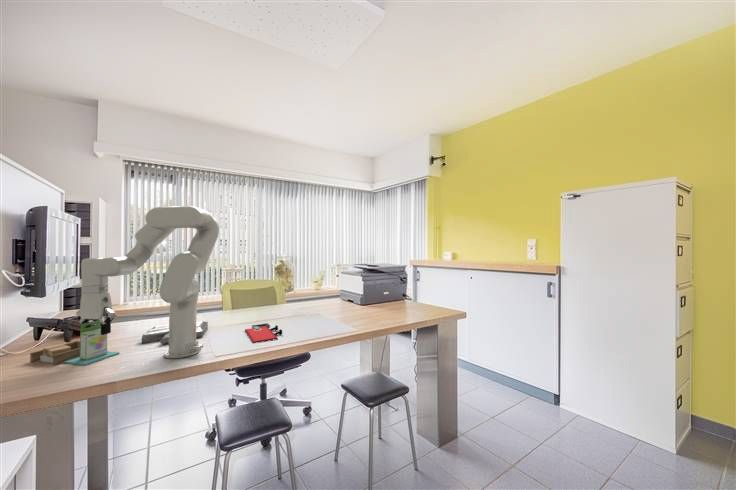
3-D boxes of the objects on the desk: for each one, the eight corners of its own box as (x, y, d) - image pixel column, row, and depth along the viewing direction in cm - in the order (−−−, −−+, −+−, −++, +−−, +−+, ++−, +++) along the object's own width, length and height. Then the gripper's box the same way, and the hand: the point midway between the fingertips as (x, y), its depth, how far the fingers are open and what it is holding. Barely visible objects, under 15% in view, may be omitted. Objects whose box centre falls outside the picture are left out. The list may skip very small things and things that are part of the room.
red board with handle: (271, 324, 165) (242, 328, 158) (271, 319, 165) (242, 323, 158) (285, 339, 140) (252, 345, 132) (285, 333, 140) (252, 338, 132)
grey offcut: (73, 358, 113) (73, 352, 113) (55, 364, 107) (55, 357, 107) (58, 357, 114) (58, 350, 114) (40, 362, 109) (40, 355, 109)
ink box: (86, 360, 108) (87, 324, 109) (79, 359, 109) (79, 324, 110) (107, 354, 115) (108, 320, 115) (100, 353, 116) (101, 319, 116)
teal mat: (119, 353, 117) (119, 352, 117) (85, 365, 105) (85, 363, 105) (99, 351, 119) (99, 350, 119) (64, 363, 107) (64, 361, 107)
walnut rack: (100, 350, 120) (100, 342, 120) (55, 365, 106) (55, 355, 106) (77, 348, 123) (77, 340, 123) (30, 362, 108) (30, 353, 108)
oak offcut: (70, 353, 112) (70, 346, 112) (51, 357, 107) (52, 351, 107) (61, 350, 115) (61, 344, 115) (42, 354, 110) (42, 347, 110)
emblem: (177, 317, 159) (221, 320, 153) (177, 327, 159) (221, 330, 153) (125, 331, 132) (177, 335, 126) (125, 343, 131) (177, 348, 126)
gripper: (123, 288, 115) (123, 331, 115) (88, 288, 118) (88, 330, 118) (102, 291, 107) (103, 337, 107) (66, 290, 111) (66, 335, 110)
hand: (95, 333), depth 113 cm, fingers open, 9 cm apart
